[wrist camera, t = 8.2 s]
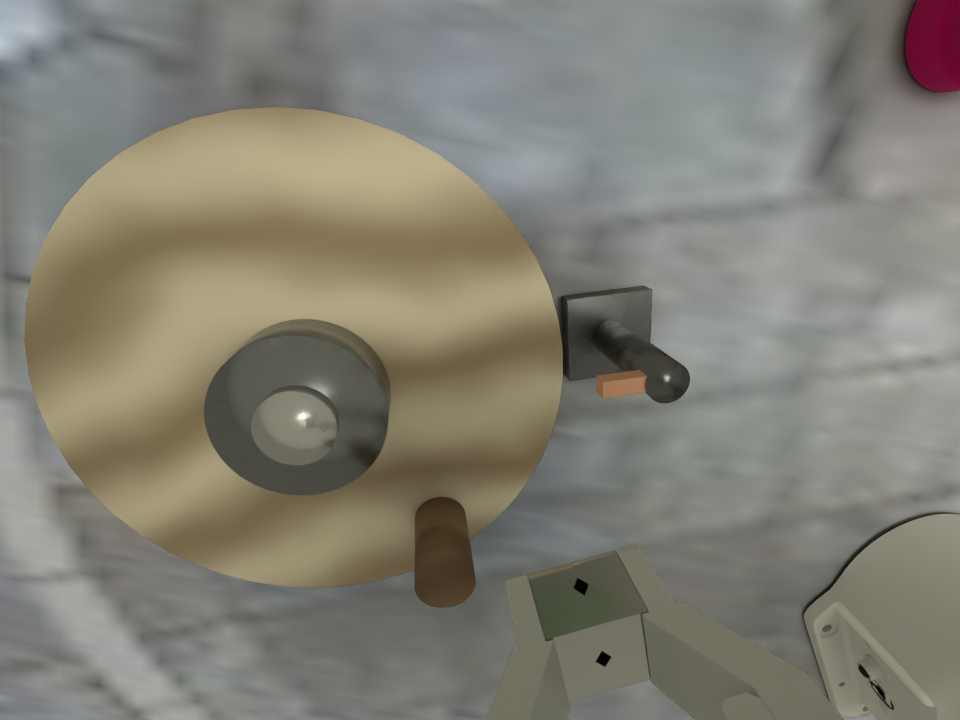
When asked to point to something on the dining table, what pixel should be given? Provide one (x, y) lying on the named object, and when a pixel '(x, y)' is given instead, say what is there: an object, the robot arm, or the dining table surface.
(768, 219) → the dining table surface
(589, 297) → the pointer
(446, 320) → the turntable
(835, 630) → the robot arm
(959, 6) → the pepper mill
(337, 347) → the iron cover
